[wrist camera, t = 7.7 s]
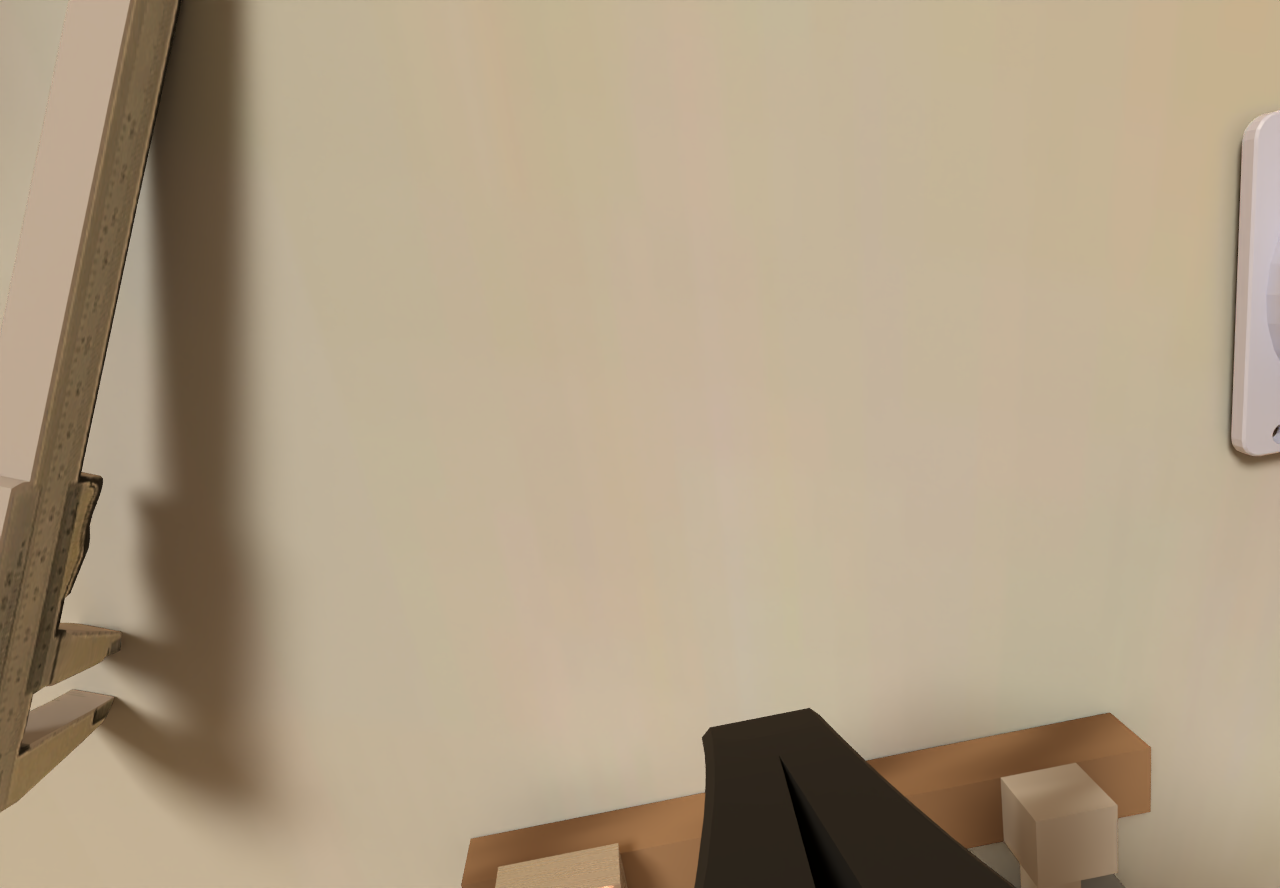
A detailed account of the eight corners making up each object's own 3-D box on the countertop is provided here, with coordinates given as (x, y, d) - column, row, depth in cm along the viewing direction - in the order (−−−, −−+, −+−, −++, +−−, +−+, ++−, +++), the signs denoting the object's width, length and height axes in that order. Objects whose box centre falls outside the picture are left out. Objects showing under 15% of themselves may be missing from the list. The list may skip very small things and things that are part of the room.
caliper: (123, 707, 18) (-111, 928, 12) (76, 699, 18) (-183, 919, 12) (219, -211, 14) (-73, -585, 8) (158, -230, 14) (-186, -628, 8)
